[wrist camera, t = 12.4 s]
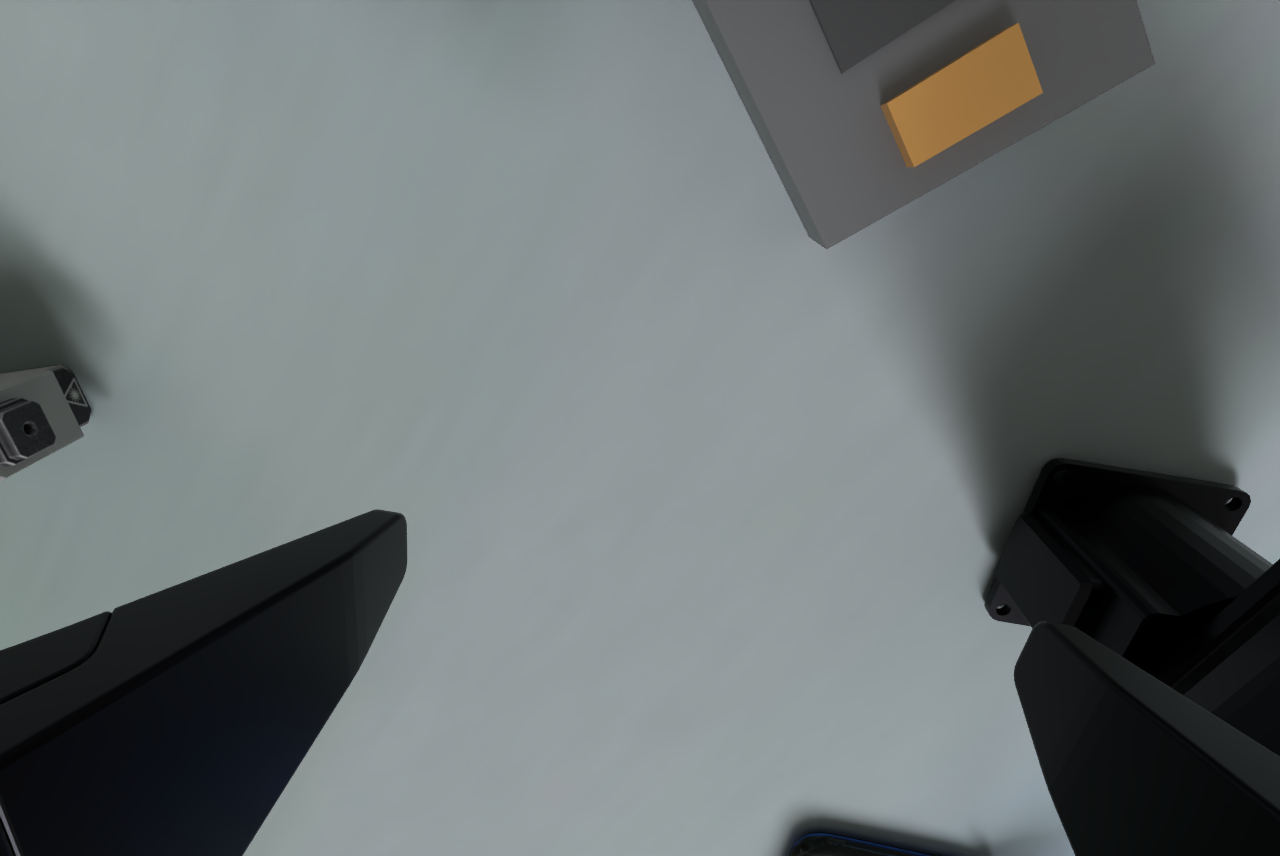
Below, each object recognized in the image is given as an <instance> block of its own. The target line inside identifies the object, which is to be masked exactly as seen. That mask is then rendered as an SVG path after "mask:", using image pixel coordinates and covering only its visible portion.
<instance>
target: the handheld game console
mask: <svg viewBox="0 0 1280 856" xmlns="http://www.w3.org/2000/svg"><path fill="white" fill-rule="evenodd" d="M789 856H930V855H925V854H921V853H916V852H912V851H907V850H903V849H898V848H893V847H889V846H884V845H880V844H875V843H870V842H866V841H861V840H856V839H851V838H847V837H842V836H837V835H832V834H826V833H814V834H808V835H806V836H804V837H802V838H800V839H799V840H798V841H797V842H796V843H795V844H794V846H793V848H792V850H791V852H790V855H789Z"/></svg>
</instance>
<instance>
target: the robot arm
mask: <svg viewBox="0 0 1280 856" xmlns="http://www.w3.org/2000/svg"><path fill="white" fill-rule="evenodd" d="M1062 470H1065V473H1064V475H1063V476H1062V477H1060V478H1055V476H1056V474H1057V473H1058V472H1060V471H1062ZM1231 498H1232V500H1231V501H1230V502H1229V503H1228V504H1226V505H1225V503H1226V502H1227V501H1228V500H1229V499H1231ZM1250 502H1251V500H1250V496H1249V495H1248V494H1247V493H1246V492H1244V491H1242V490H1241V489H1239V488H1237V487H1235V486H1232V485H1227V484H1221V483H1214V482H1208V481H1202V480H1196V479H1189V478H1183V477H1177V476H1171V475H1164V474H1158V473H1152V472H1146V471H1139V470H1133V469H1127V468H1121V467H1114V466H1108V465H1102V464H1095V463H1089V462H1083V461H1077V460H1070V459H1064V458H1057V459H1054V460H1051V461H1049V462H1048V463H1047V464H1045V466H1044V467H1043V469H1042V471H1041V473H1040V475H1039V478H1038V480H1037V482H1036V485H1035V487H1034V489H1033V491H1032V494H1031V496H1030V498H1029V501H1028V503H1027V505H1026V508H1025V510H1024V512H1023V514H1022V515H1020V516H1019V517H1018V519H1017V522H1016V524H1015V526H1014V529H1013V531H1012V533H1011V536H1010V538H1009V540H1008V542H1007V545H1006V547H1005V549H1004V552H1003V554H1002V556H1001V559H1000V561H999V563H998V566H997V568H996V570H995V576H996V577H995V579H994V582H993V584H992V586H991V588H990V591H989V593H988V595H987V598H986V600H985V608H986V610H987V612H988V613H989V615H990V616H991V617H992V618H993V619H995V620H998V621H1003V622H1008V623H1014V624H1020V625H1026V626H1031V627H1032V631H1031V633H1030V635H1029V637H1028V640H1027V642H1026V644H1025V646H1024V648H1023V650H1022V652H1021V654H1020V656H1019V658H1018V660H1017V663H1016V665H1015V670H1014V681H1015V686H1016V689H1017V692H1018V695H1019V699H1020V702H1021V705H1022V708H1023V711H1024V715H1025V718H1026V721H1027V724H1028V728H1029V731H1030V734H1031V737H1032V740H1033V744H1034V747H1035V750H1036V753H1037V757H1038V760H1039V763H1040V766H1041V769H1042V773H1043V776H1044V778H1045V781H1046V784H1047V787H1048V790H1049V793H1050V795H1051V798H1052V800H1053V803H1054V806H1055V808H1056V811H1057V813H1058V815H1059V818H1060V820H1061V823H1062V825H1063V827H1064V830H1065V832H1066V834H1067V837H1068V839H1069V842H1070V844H1071V846H1072V849H1073V851H1074V853H1075V856H1280V559H1279V560H1278V561H1277V562H1276V563H1274V564H1271V563H1270V562H1269V561H1267V560H1266V559H1264V558H1263V557H1261V556H1260V555H1259V554H1257V553H1256V552H1254V551H1253V550H1251V549H1250V548H1249V547H1247V546H1246V545H1244V544H1243V543H1241V542H1240V541H1239V540H1237V539H1236V538H1234V537H1233V536H1232V535H1233V533H1234V531H1235V530H1236V528H1237V526H1238V525H1239V523H1240V521H1241V519H1242V518H1243V516H1244V514H1245V513H1246V511H1247V509H1248V508H1249V505H1250ZM406 568H407V523H406V519H405V517H404V516H403V515H402V514H401V513H396V512H390V511H384V510H372V511H370V512H367V513H365V514H362V515H359V516H357V517H354V518H351V519H349V520H346V521H344V522H341V523H338V524H336V525H333V526H330V527H328V528H325V529H322V530H320V531H317V532H315V533H312V534H309V535H307V536H304V537H301V538H299V539H296V540H294V541H291V542H288V543H286V544H283V545H280V546H278V547H275V548H272V549H270V550H267V551H265V552H262V553H259V554H257V555H254V556H251V557H249V558H246V559H244V560H241V561H238V562H236V563H233V564H230V565H228V566H225V567H222V568H220V569H217V570H215V571H212V572H209V573H207V574H204V575H201V576H199V577H196V578H194V579H191V580H188V581H186V582H183V583H180V584H178V585H175V586H173V587H170V588H167V589H165V590H162V591H159V592H157V593H154V594H151V595H149V596H146V597H144V598H141V599H138V600H136V601H133V602H130V603H128V604H125V605H123V606H120V607H117V608H115V609H114V610H113V612H112V613H111V612H104V613H101V614H98V615H96V616H93V617H91V618H88V619H85V620H83V621H80V622H78V623H75V624H72V625H70V626H67V627H64V628H62V629H59V630H56V631H53V632H51V633H48V634H45V635H42V636H40V637H37V638H34V639H31V640H29V641H26V642H23V643H20V644H18V645H15V646H12V647H9V648H6V649H3V650H0V856H242V855H243V854H244V852H245V851H246V849H247V848H248V846H249V844H250V843H251V841H252V840H253V838H254V836H255V835H256V833H257V832H258V830H259V828H260V827H261V825H262V824H263V822H264V820H265V819H266V817H267V816H268V814H269V812H270V811H271V809H272V808H273V806H274V805H275V803H276V801H277V800H278V798H279V797H280V795H281V793H282V792H283V790H284V789H285V787H286V785H287V784H288V782H289V781H290V779H291V777H292V776H293V774H294V773H295V771H296V770H297V768H298V766H299V765H300V763H301V762H302V760H303V758H304V757H305V755H306V754H307V752H308V750H309V749H310V747H311V746H312V744H313V742H314V741H315V739H316V738H317V736H318V734H319V733H320V731H321V730H322V728H323V727H324V725H325V723H326V722H327V720H328V719H329V717H330V715H331V714H332V712H333V711H334V709H335V707H336V706H337V704H338V703H339V701H340V699H341V698H342V696H343V695H344V693H345V691H346V690H347V688H348V687H349V685H350V683H351V682H352V680H353V678H354V677H355V675H356V673H357V672H358V670H359V668H360V666H361V664H362V662H363V660H364V659H365V657H366V655H367V653H368V651H369V648H370V646H371V644H372V642H373V640H374V638H375V636H376V634H377V632H378V630H379V628H380V626H381V624H382V622H383V619H384V617H385V615H386V613H387V611H388V609H389V607H390V605H391V603H392V601H393V599H394V597H395V595H396V593H397V590H398V588H399V586H400V584H401V582H402V580H403V578H404V575H405V572H406ZM1002 604H1006V605H1005V606H1004V607H1002V608H998V609H997V607H998V606H1000V605H1002Z"/></svg>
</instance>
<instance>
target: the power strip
mask: <svg viewBox="0 0 1280 856" xmlns="http://www.w3.org/2000/svg"><path fill="white" fill-rule="evenodd" d="M692 1H693V3H694V5H695V7H696V9H697V11H698V13H699V15H700V17H701V19H702V21H703V23H704V25H705V27H706V29H707V31H708V33H709V35H710V37H711V39H712V41H713V43H714V45H715V47H716V49H717V51H718V53H719V55H720V57H721V60H722V62H723V64H724V66H725V68H726V70H727V72H728V74H729V76H730V78H731V80H732V82H733V84H734V86H735V88H736V90H737V92H738V94H739V96H740V98H741V100H742V102H743V104H744V106H745V108H746V110H747V112H748V114H749V116H750V118H751V120H752V122H753V124H754V126H755V128H756V130H757V132H758V134H759V136H760V138H761V140H762V142H763V144H764V147H765V149H766V151H767V153H768V155H769V157H770V159H771V161H772V163H773V165H774V167H775V169H776V171H777V173H778V175H779V177H780V179H781V181H782V183H783V185H784V187H785V189H786V191H787V193H788V195H789V197H790V199H791V201H792V203H793V205H794V207H795V209H796V211H797V213H798V215H799V217H800V219H801V221H802V223H803V225H804V227H805V229H806V231H807V233H808V236H809V237H810V238H811V239H813V240H814V241H816V242H817V243H818V244H820V245H821V246H823V247H824V248H826V249H828V248H830V247H831V246H833V245H835V244H837V243H839V242H840V241H842V240H844V239H846V238H847V237H849V236H851V235H853V234H854V233H856V232H858V231H860V230H862V229H863V228H865V227H867V226H869V225H870V224H872V223H874V222H876V221H877V220H879V219H881V218H883V217H885V216H886V215H888V214H890V213H892V212H893V211H895V210H897V209H899V208H900V207H902V206H904V205H906V204H908V203H909V202H911V201H913V200H915V199H916V198H918V197H920V196H922V195H924V194H925V193H927V192H929V191H931V190H932V189H934V188H936V187H938V186H939V185H941V184H943V183H945V182H947V181H948V180H950V179H952V178H954V177H955V176H957V175H959V174H961V173H962V172H964V171H966V170H968V169H970V168H971V167H973V166H975V165H977V164H978V163H980V162H982V161H984V160H985V159H987V158H989V157H991V156H993V155H994V154H996V153H998V152H1000V151H1001V150H1003V149H1005V148H1007V147H1008V146H1010V145H1012V144H1014V143H1016V142H1017V141H1019V140H1021V139H1023V138H1024V137H1026V136H1028V135H1030V134H1031V133H1033V132H1035V131H1037V130H1039V129H1040V128H1042V127H1044V126H1046V125H1047V124H1049V123H1051V122H1053V121H1054V120H1056V119H1058V118H1060V117H1062V116H1063V115H1065V114H1067V113H1069V112H1070V111H1072V110H1074V109H1076V108H1077V107H1079V106H1081V105H1083V104H1085V103H1086V102H1088V101H1090V100H1092V99H1093V98H1095V97H1097V96H1099V95H1100V94H1102V93H1104V92H1106V91H1108V90H1109V89H1111V88H1113V87H1115V86H1116V85H1118V84H1120V83H1122V82H1124V81H1125V80H1127V79H1129V78H1131V77H1132V76H1134V75H1136V74H1138V73H1139V72H1141V71H1143V70H1145V69H1147V68H1148V67H1150V66H1152V65H1154V64H1155V62H1154V59H1153V56H1152V52H1151V49H1150V46H1149V42H1148V39H1147V35H1146V32H1145V29H1144V25H1143V22H1142V18H1141V15H1140V12H1139V8H1138V5H1137V2H1136V0H692Z"/></svg>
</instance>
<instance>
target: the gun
mask: <svg viewBox="0 0 1280 856" xmlns="http://www.w3.org/2000/svg"><path fill="white" fill-rule="evenodd" d="M90 413H91V409H90V406H89V404H88V402H87V400H86V398H85V396H84V394H83V392H82V390H81V388H80V385H79V383H78V381H77V379H76V377H75V375H74V374H73V373H72V372H70V371H69V370H68V369H66V368H65V367H63V366H61V365H57V366H50V367H43V368H36V369H30V370H23V371H16V372H9V373H2V374H0V481H2V480H3V479H5V478H7V477H9V476H11V475H13V474H15V473H17V472H18V471H20V470H22V469H24V468H26V467H28V466H30V465H31V464H33V463H35V462H37V461H39V460H41V459H43V458H44V457H46V456H48V455H50V454H52V453H54V452H56V451H58V450H59V449H61V448H63V447H65V446H67V445H69V444H71V443H72V442H74V441H76V440H78V439H80V438H82V437H83V436H84V434H83V432H82V430H81V428H80V427H81V426H83V425H85V424H87V423H88V422H89V418H90Z"/></svg>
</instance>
